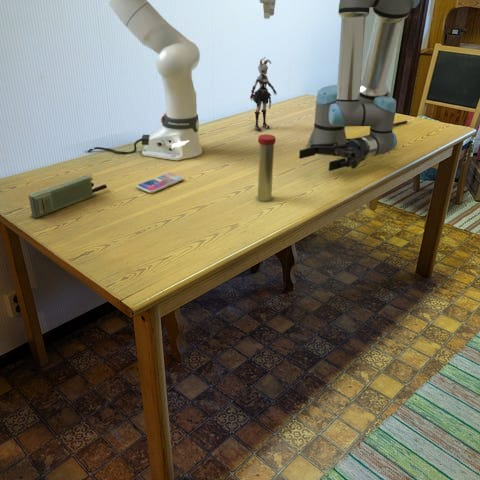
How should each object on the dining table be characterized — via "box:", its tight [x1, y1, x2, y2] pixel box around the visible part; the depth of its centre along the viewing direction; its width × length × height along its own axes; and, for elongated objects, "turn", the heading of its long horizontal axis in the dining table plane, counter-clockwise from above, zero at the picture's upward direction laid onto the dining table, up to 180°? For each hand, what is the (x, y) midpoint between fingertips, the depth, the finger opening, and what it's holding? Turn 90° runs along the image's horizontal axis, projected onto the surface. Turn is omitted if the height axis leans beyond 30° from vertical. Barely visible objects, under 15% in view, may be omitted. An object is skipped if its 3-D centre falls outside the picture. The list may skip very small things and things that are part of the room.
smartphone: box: [136, 172, 184, 194], centre depth 164 cm, size 7×1×15 cm
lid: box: [257, 133, 276, 145], centre depth 147 cm, size 5×5×2 cm
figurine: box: [249, 56, 278, 132], centre depth 211 cm, size 15×6×30 cm, turn 132°
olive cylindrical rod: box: [257, 143, 275, 202], centre depth 151 cm, size 4×4×19 cm
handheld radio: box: [28, 173, 108, 219], centre depth 150 cm, size 7×3×25 cm
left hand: (268, 16), depth 163 cm, fingers open, 8 cm apart
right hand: (314, 160), depth 161 cm, fingers open, 13 cm apart
